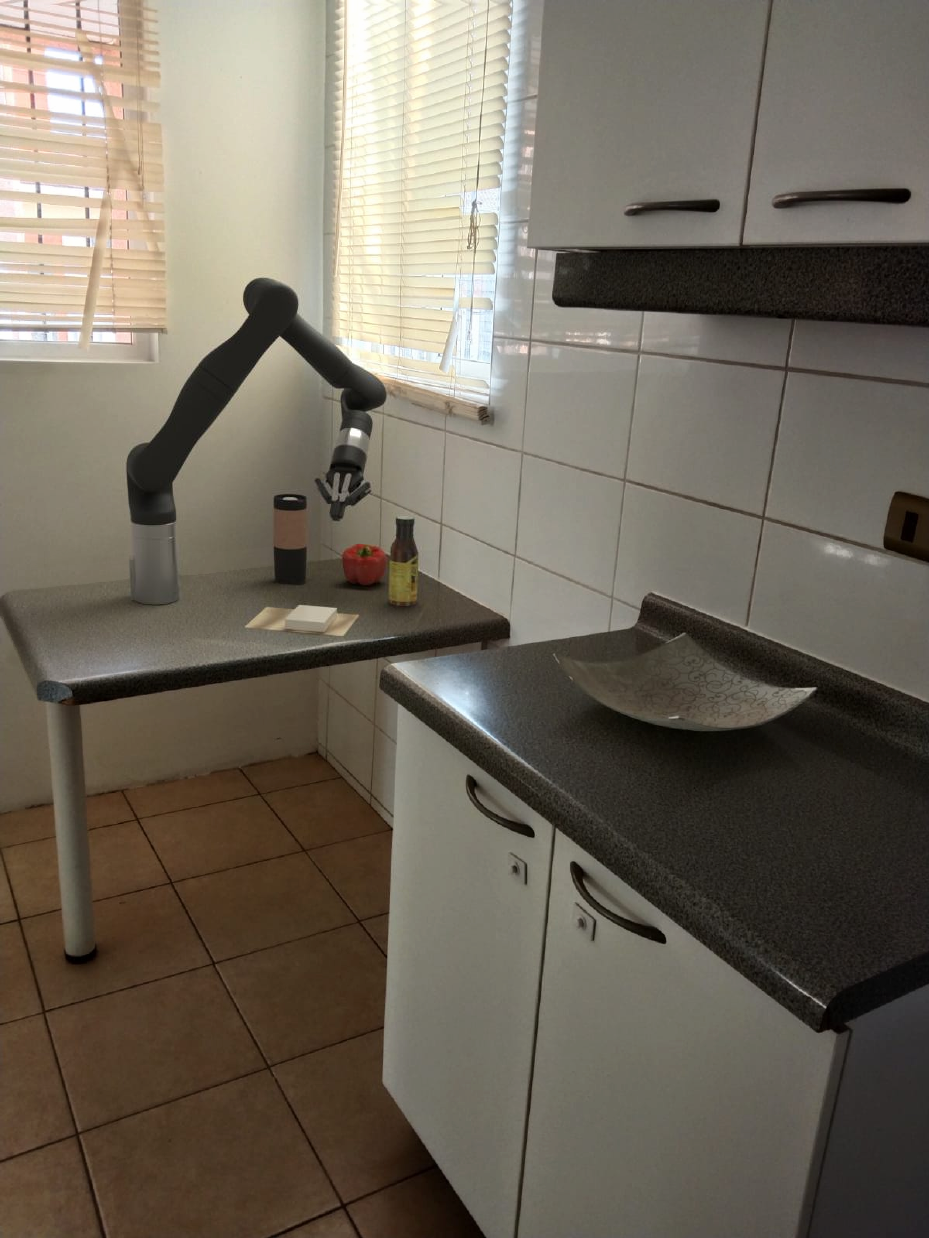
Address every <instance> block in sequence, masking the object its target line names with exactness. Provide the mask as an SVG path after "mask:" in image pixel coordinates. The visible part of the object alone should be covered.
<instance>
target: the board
mask: <svg viewBox="0 0 929 1238" xmlns="http://www.w3.org/2000/svg"><path fill="white" fill-rule="evenodd" d="M295 609H296V608H294V609H292V608H285V607H284V608H283V607H272V606H270V607H269V606H265V608H264V609H263V610H261V612H260V613H258V614H257V615H256V616H255V617H254V618H253V619H252V620H251V621H250V622H248V623H247V624H246V625H245V626H244V628H249V629H257V630H258V629H259V630H267V631H268V630H269V631H270V630H271V631H280V632H282V631H283V632H290V633H291V632H292V633H293V632H294V633H303V634H304V633H305V634H314V635H324V636H325V635H326V636H335V637H336V636H337V637H344V636H345V635H346V633H347V632H348V630H349V629H350V628H351V627H352V625H353V624H354V623H355V621H356V620H357V619H358V618H359V616H360V614H350V613H342V612H341V613H340V612H339V613H338V612H337V618H336V619H335V620H334V621H333V623H332V624H331V625H330V626H329V627H328V628H327V630H326V631H325V632H314V631H303V630H292V629H285V619H286V618H287V617H288V616H289V615H290V614H291V613H292V612H293V611H294V610H295Z"/></svg>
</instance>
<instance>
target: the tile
mask: <svg viewBox="0 0 929 1238" xmlns="http://www.w3.org/2000/svg"><path fill="white" fill-rule="evenodd" d="M294 609H295V610H294V611H293V612H292V613H291V614H290V615H289V616H288V617H287V618H286V619H285V629H292V630H303V631H314V632H325V631H326V630H327V628H328V627H329V626H330V625H331V624H332V623H333V621H334V620H335V619H336V618H337V613H338V608H337V607H327V606H316V605H307V604H306V605H304V604H299V605H297V606H296V607H295V608H294Z"/></svg>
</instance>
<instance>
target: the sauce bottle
mask: <svg viewBox="0 0 929 1238" xmlns="http://www.w3.org/2000/svg"><path fill="white" fill-rule="evenodd" d="M415 521H416V520H415V517H413V516H410V515H398V516H395V525H396V527H395V528H396V531H395V539H394V541H393V542H392V543H391V546H390V556H389V557H390V558H389V567H388V568H389V569H388V571H389V572H388V574H389V575H388V600H389V601H388V603H389V604H390V605H393V606H396V607H412V606H414V605H416V604H417V600H418V583H419V582H418V579H419V578H418V575H419V551H418V550H419V549H418V548H417V544H416V542H415V538H414V537H415V536H414V525H415V523H416V522H415Z"/></svg>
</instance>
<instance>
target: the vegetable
mask: <svg viewBox="0 0 929 1238" xmlns="http://www.w3.org/2000/svg"><path fill="white" fill-rule="evenodd" d="M387 560H388V558H387V555H386V553H385V551H384V550H383V548H381V547H379V546H376V545H369V544H366V543H365V544H363V543H357V544H354V545H352V546H350V547H346V549H344V551H343V553H342V556H341V562H342V569H343V574H344V576H345V579H347V581H348V582H349V583H350V584H353V585H354V584H355V585H356V584H359V585H361V586H371V585H372V584H376V583H378V582H379V581H380V580H381V579H382V578H383V576H384V575H385V572H386V569H387V568H386V567H387V563H388V562H387Z"/></svg>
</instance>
